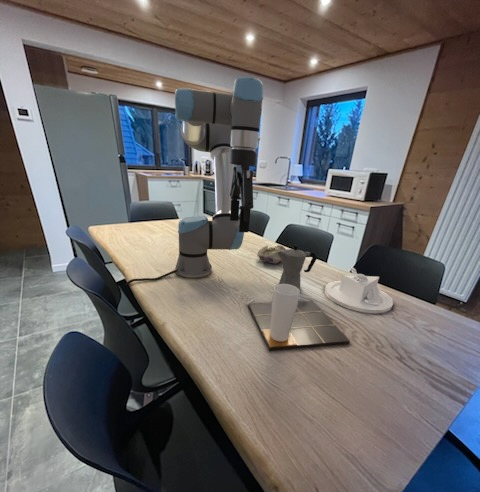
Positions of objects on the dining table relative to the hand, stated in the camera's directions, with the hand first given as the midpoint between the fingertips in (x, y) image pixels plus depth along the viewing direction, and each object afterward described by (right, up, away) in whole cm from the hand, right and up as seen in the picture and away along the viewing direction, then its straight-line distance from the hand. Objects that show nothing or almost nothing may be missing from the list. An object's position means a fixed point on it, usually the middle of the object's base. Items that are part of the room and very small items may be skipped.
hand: (238, 225), depth 82 cm
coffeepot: (+21, -20, +24) cm, 38 cm away
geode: (+17, -6, +52) cm, 55 cm away
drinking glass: (+11, -33, -8) cm, 36 cm away
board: (+18, -30, +1) cm, 35 cm away
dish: (+47, -23, +21) cm, 56 cm away
